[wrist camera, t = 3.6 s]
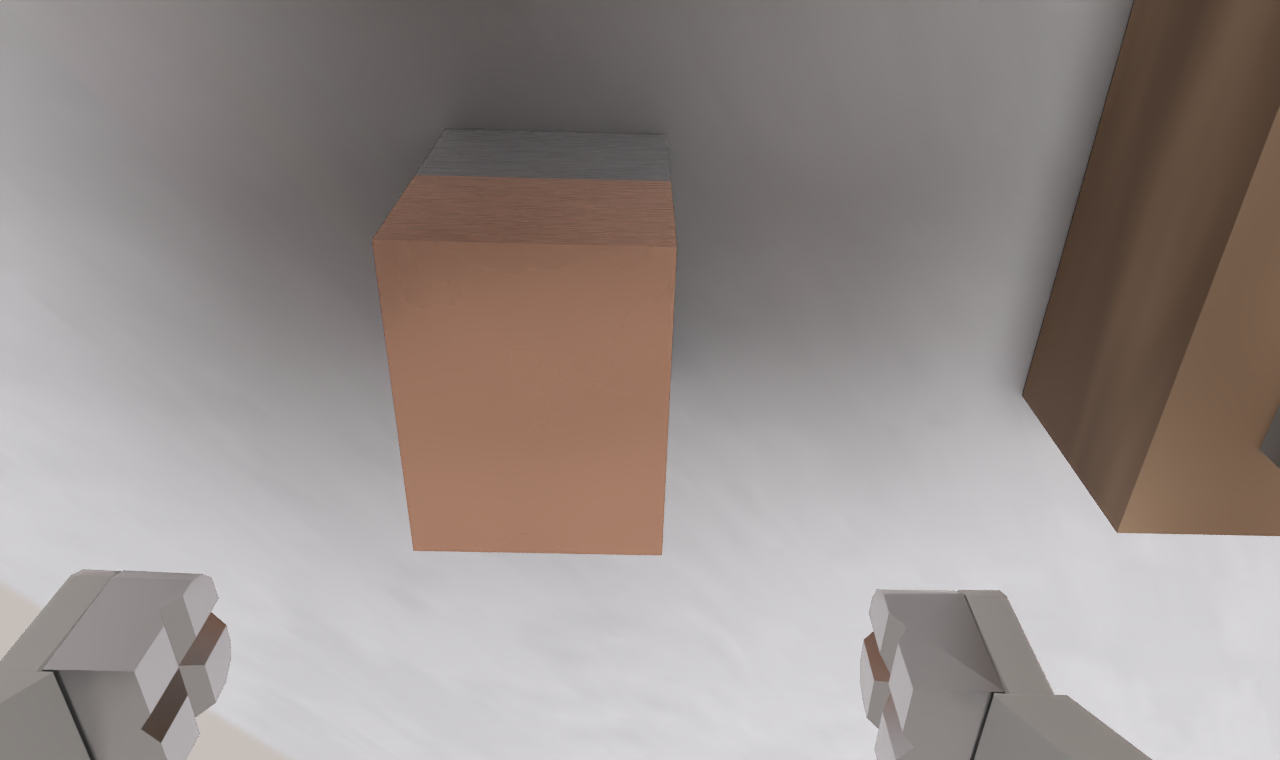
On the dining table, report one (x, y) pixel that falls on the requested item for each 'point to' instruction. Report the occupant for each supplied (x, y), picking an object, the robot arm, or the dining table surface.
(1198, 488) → the walnut stand
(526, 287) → the block
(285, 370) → the dining table surface
